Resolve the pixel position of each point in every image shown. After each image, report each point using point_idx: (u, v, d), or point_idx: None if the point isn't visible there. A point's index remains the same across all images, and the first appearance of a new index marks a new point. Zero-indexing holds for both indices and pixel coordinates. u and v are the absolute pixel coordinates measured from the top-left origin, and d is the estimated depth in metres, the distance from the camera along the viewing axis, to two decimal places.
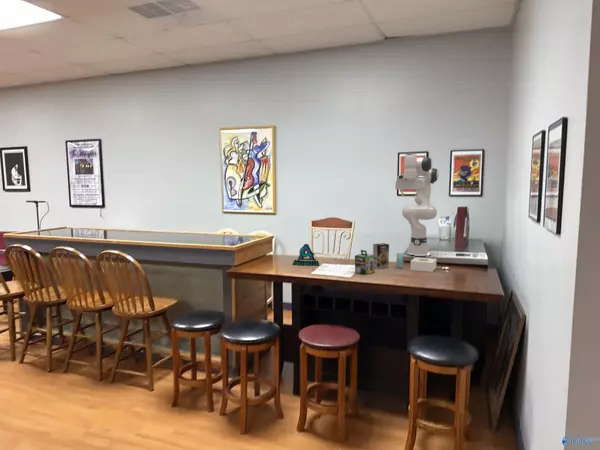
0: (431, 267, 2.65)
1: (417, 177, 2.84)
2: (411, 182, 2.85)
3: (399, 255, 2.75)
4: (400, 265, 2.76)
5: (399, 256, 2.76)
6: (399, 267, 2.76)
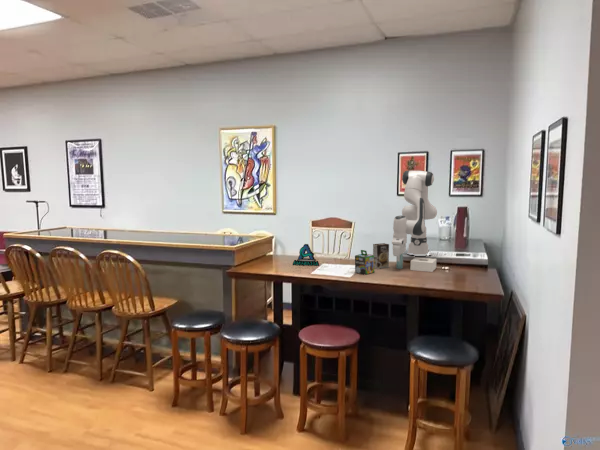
0: (431, 267, 2.65)
1: None
2: (402, 246, 2.77)
3: None
4: (400, 265, 2.76)
5: None
6: (399, 267, 2.76)
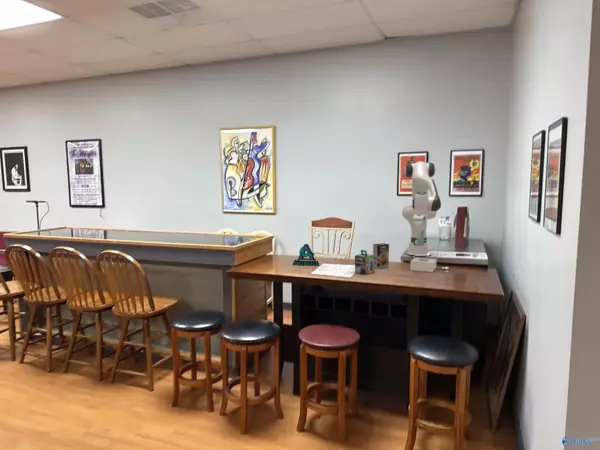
0: (431, 267, 2.65)
1: None
2: (423, 223, 2.72)
3: None
4: (421, 242, 2.71)
5: None
6: (420, 244, 2.72)
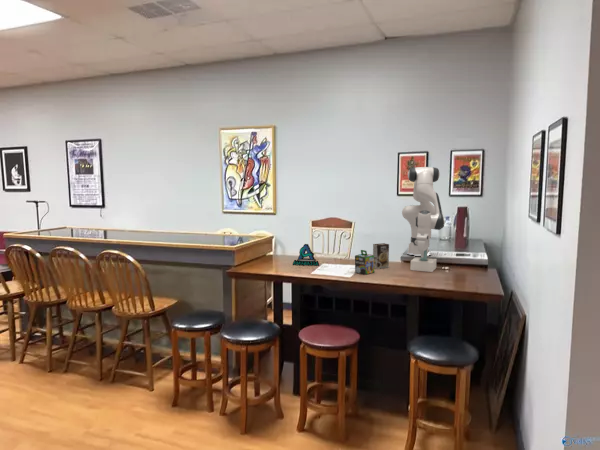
0: (431, 267, 2.65)
1: None
2: (426, 241, 2.73)
3: None
4: None
5: None
6: None
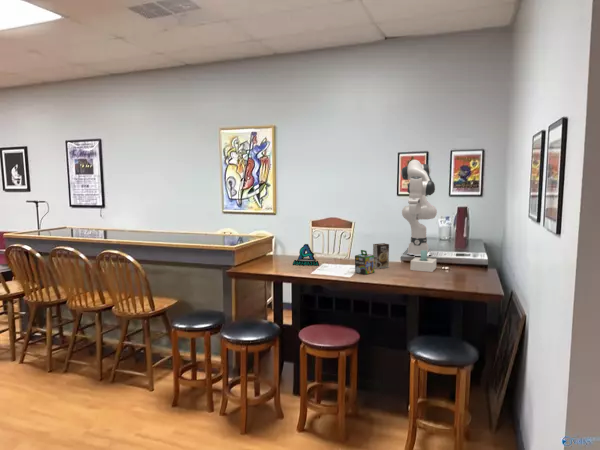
0: (431, 267, 2.65)
1: None
2: (418, 206, 2.83)
3: (423, 252, 2.72)
4: None
5: (423, 253, 2.72)
6: None
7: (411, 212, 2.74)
